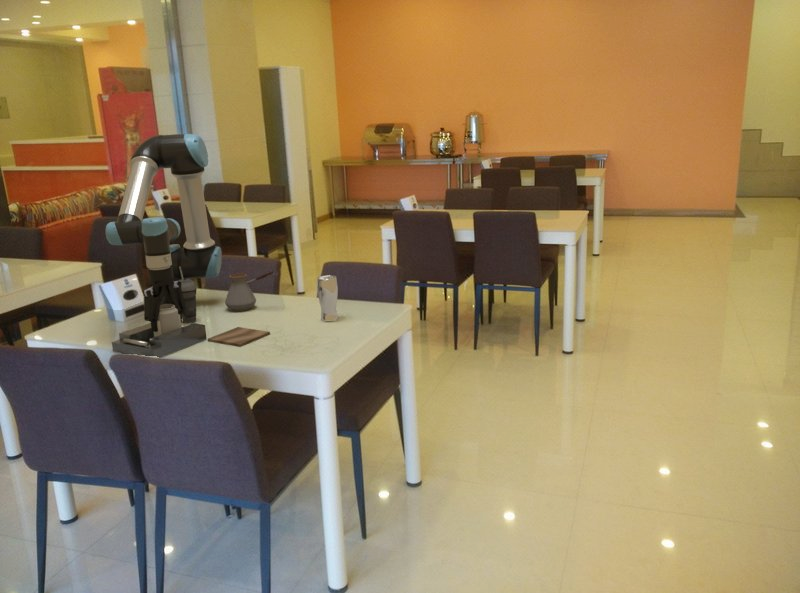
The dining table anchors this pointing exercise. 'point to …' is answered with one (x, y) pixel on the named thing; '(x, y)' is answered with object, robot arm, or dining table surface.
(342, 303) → the dining table surface
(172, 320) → the can
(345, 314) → the dining table surface
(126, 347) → the grey stepped tray
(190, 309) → the beverage cup
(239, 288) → the coffee pot
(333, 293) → the beer glass
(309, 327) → the dining table surface
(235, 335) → the walnut board
